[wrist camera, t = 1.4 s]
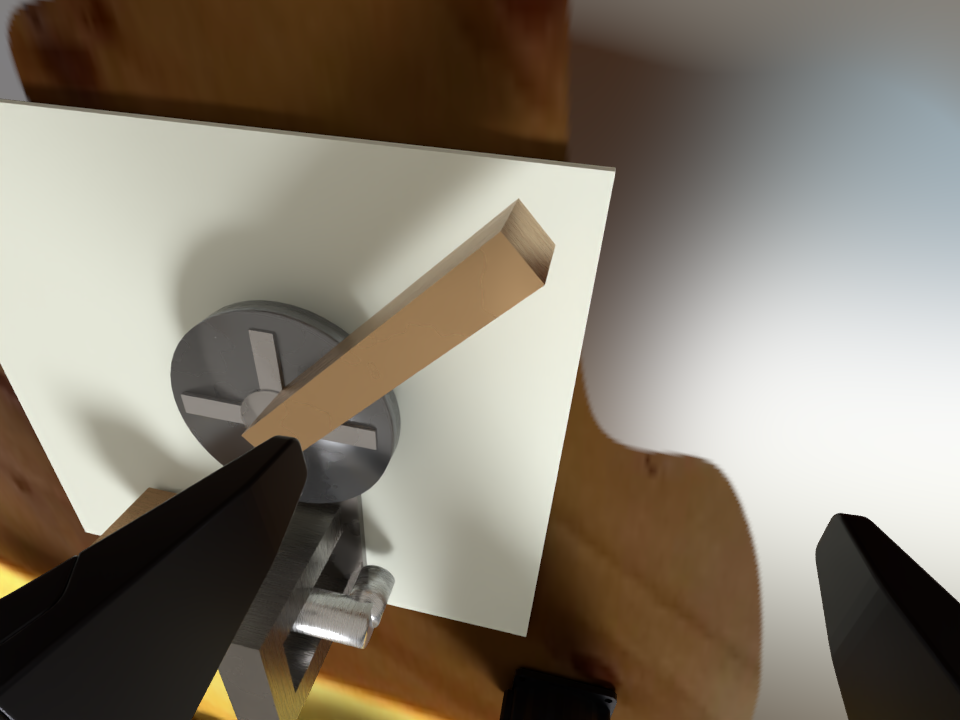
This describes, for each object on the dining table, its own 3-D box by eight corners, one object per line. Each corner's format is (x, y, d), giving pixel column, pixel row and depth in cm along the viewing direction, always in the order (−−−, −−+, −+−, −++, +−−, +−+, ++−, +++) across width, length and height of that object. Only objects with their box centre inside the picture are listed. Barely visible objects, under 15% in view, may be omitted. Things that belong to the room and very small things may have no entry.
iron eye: (360, 489, 28) (278, 642, 21) (370, 606, 34) (307, 757, 27) (283, 473, 29) (177, 617, 22) (305, 590, 35) (227, 734, 28)
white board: (615, 167, 18) (615, 181, 17) (527, 627, 33) (523, 656, 31) (-123, 85, 22) (-176, 89, 21) (92, 524, 37) (70, 546, 36)
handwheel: (564, 192, 17) (551, 238, 13) (516, 526, 25) (500, 607, 22) (122, 139, 19) (13, 166, 16) (214, 463, 28) (156, 527, 24)
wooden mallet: (400, 542, 30) (356, 648, 25) (401, 587, 32) (361, 693, 27) (148, 487, 32) (62, 574, 27) (166, 532, 34) (88, 621, 29)
